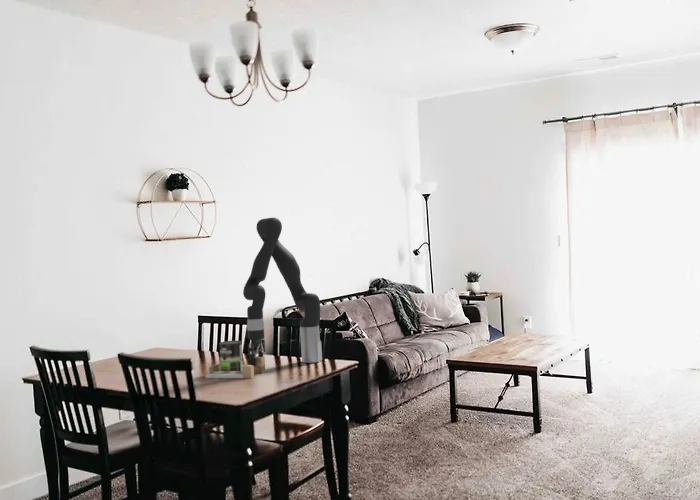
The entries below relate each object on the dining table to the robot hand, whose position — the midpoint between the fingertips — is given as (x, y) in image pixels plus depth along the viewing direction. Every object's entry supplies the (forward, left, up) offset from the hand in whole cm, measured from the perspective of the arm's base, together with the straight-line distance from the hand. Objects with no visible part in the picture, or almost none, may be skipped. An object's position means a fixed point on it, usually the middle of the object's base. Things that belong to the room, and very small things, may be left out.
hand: (257, 364), depth 303 cm
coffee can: (+13, 0, -4) cm, 13 cm away
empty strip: (+9, +9, -4) cm, 14 cm away
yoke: (+9, 0, -4) cm, 10 cm away
